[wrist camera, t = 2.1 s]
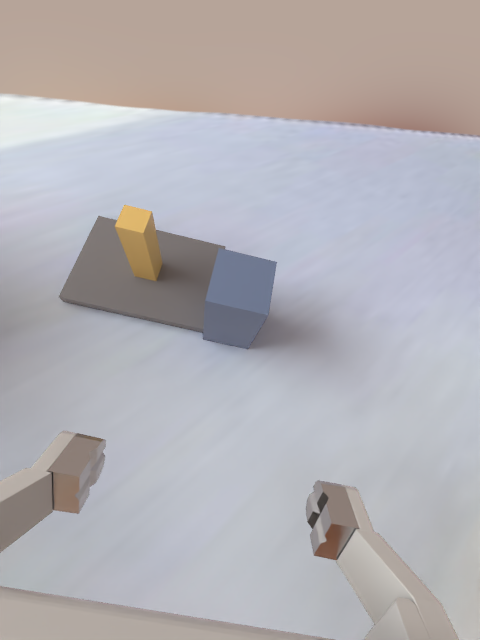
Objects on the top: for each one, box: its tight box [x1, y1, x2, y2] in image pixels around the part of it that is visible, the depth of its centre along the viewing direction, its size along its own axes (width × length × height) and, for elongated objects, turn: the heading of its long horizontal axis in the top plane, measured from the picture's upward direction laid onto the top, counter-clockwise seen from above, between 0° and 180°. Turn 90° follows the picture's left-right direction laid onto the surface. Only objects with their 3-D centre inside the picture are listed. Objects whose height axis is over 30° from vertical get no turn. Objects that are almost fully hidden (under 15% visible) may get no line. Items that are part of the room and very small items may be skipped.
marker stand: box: [59, 205, 225, 332], centre depth 26 cm, size 14×10×8 cm
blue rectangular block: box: [203, 248, 277, 349], centre depth 25 cm, size 5×5×9 cm
